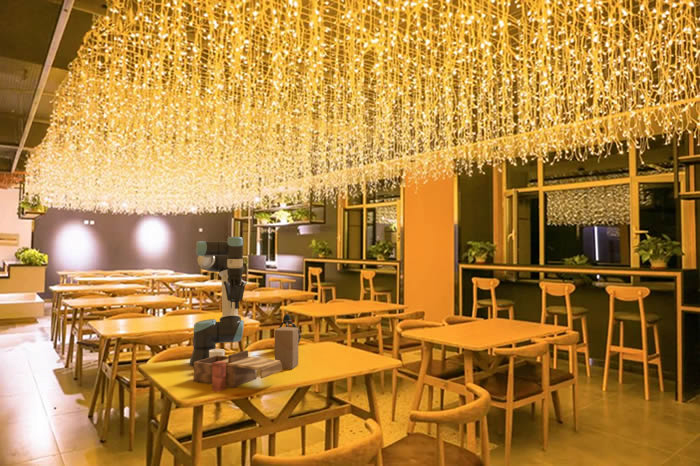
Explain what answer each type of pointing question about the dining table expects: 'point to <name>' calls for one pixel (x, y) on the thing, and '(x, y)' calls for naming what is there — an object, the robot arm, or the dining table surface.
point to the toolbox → (233, 374)
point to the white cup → (216, 352)
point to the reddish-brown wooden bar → (218, 376)
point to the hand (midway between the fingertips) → (234, 315)
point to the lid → (254, 363)
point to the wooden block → (286, 346)
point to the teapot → (288, 321)
